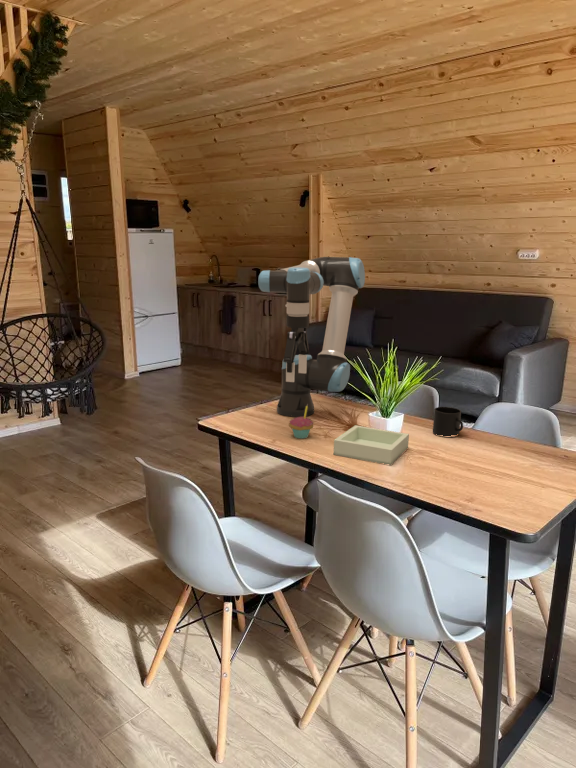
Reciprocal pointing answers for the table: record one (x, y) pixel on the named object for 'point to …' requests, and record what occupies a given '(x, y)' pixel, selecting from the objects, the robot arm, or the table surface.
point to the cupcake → (301, 426)
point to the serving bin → (371, 444)
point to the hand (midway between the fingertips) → (296, 377)
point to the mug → (447, 421)
